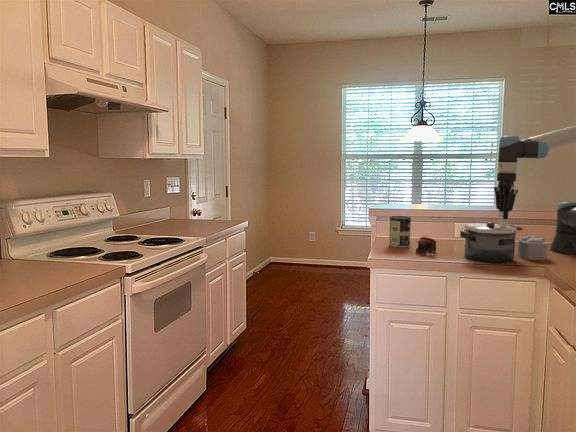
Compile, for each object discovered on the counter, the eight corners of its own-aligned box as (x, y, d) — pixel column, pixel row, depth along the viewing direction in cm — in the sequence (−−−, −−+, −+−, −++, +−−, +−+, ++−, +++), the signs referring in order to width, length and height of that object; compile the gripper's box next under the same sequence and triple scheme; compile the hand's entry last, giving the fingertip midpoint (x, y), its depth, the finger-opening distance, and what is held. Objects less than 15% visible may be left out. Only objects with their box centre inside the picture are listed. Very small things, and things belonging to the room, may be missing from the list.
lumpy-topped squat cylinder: (523, 259, 209) (524, 239, 208) (514, 252, 222) (515, 234, 220) (549, 260, 207) (550, 240, 206) (538, 253, 220) (539, 234, 219)
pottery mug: (409, 252, 224) (414, 236, 226) (426, 260, 227) (430, 244, 229) (425, 251, 213) (430, 234, 215) (442, 259, 216) (447, 242, 218)
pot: (490, 250, 225) (492, 225, 224) (528, 263, 201) (530, 235, 199) (447, 253, 220) (448, 227, 219) (480, 266, 196) (482, 237, 194)
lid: (501, 225, 222) (501, 218, 222) (533, 233, 202) (534, 225, 201) (455, 227, 217) (455, 220, 216) (483, 235, 197) (484, 227, 196)
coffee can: (410, 243, 242) (411, 216, 240) (409, 248, 232) (410, 219, 230) (389, 242, 244) (390, 215, 242) (387, 246, 235) (388, 218, 233)
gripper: (489, 171, 212) (486, 224, 216) (509, 173, 200) (505, 229, 203) (504, 171, 214) (500, 223, 217) (525, 172, 201) (520, 228, 205)
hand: (502, 226), depth 210 cm, fingers closed
